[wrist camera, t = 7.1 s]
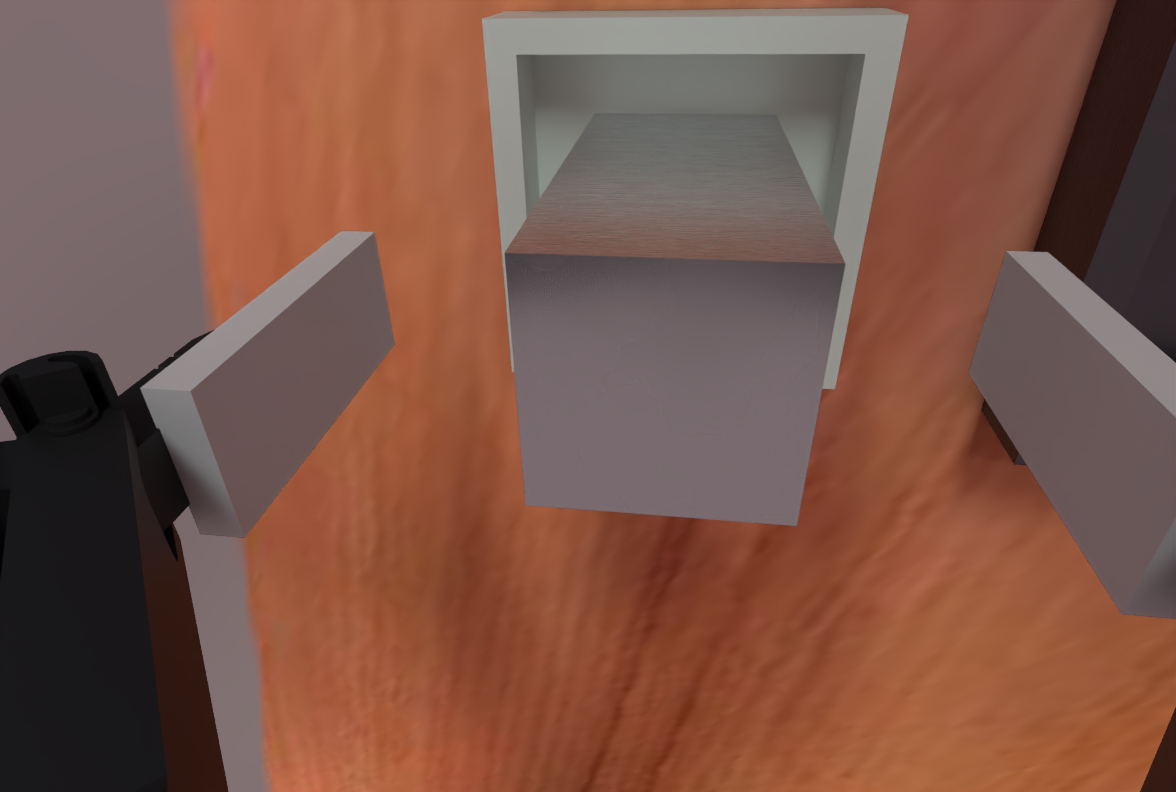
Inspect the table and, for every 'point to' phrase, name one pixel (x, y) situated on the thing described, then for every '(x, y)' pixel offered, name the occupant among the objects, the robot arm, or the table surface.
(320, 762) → the table surface
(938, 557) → the table surface
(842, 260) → the grey rectangular block
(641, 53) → the tray
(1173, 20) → the dark rectangular frame
